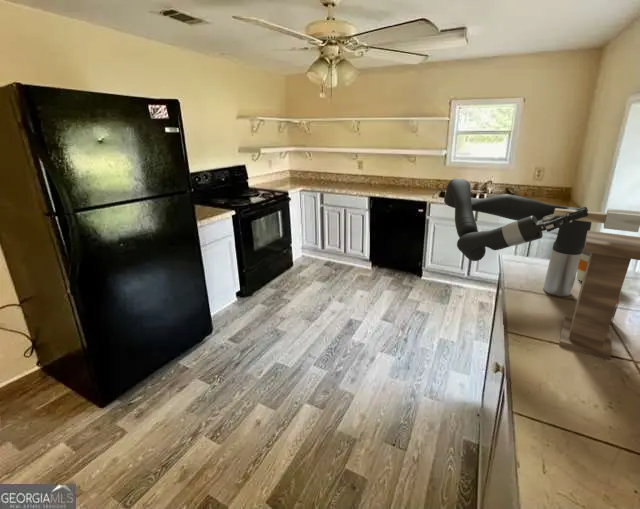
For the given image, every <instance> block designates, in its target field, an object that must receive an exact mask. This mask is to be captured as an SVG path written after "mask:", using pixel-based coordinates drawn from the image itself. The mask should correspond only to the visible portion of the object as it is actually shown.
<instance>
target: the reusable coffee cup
mask: <svg viewBox="0 0 640 509" xmlns="http://www.w3.org/2000/svg"><path fill="white" fill-rule="evenodd" d="M589 256H590V252H584V248H583V251H582V254H581V258H580V262H579V266H578V269H577V273H576V280H577V281H579V280H580V281H579V282H581V281H583V278H584V274H585V270H586V267H587V263H588V260H589Z"/></svg>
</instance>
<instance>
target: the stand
mask: <svg viewBox="0 0 640 509" xmlns="http://www.w3.org/2000/svg"><path fill="white" fill-rule="evenodd" d="M584 252H590V256H589V260H588V263H587V267H586V270H585V274H584V278H583V281H582V282H581V286H580V288H579V292H578V296H577V300H576V304H575V307H574V311H573V314H572V316H569V315H565V316H564V318H563V323H562V328H561V332H560V337H559V338H560V339H559V343H558V345H559V346H560V347H563V348H567V349H571V350H573V351H577V352H581V353H584V354H587V355H591V356H594V357H598V358H601V359H605V360H607V361H610V360H611V357H612V339H611V333H612V332H611V326H610V325H611V323H610V322H611V319H612V316H613V313H614V310H615V307H616V304H617V301H618V298H619V299H620V294H621V291H622V288H623V285H624V282H625V279H626V276H627V274H628V270H629V267H630V263H631V260H635V261H640V236H635V235H627V234H619V233H609V232H602V231H595V230H590V231H587V235H586V240H585V247H584Z"/></svg>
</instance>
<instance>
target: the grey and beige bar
mask: <svg viewBox="0 0 640 509" xmlns="http://www.w3.org/2000/svg"><path fill="white" fill-rule="evenodd" d="M575 211H578V210H568V209H557V208H555V211H554V215H553V216H556V215H561V216H562V215H565V214H567V213H572V212H575ZM587 212H588V216H586V217H583V218H580V219H576V220H578V221H587V222H591V223H598V224H603V229H604V230H605V229H607V230H615V231H621V232H632V233H639V229H640V210H631V209H619V208H606V212H599V211H589V210H588V211H587Z"/></svg>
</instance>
